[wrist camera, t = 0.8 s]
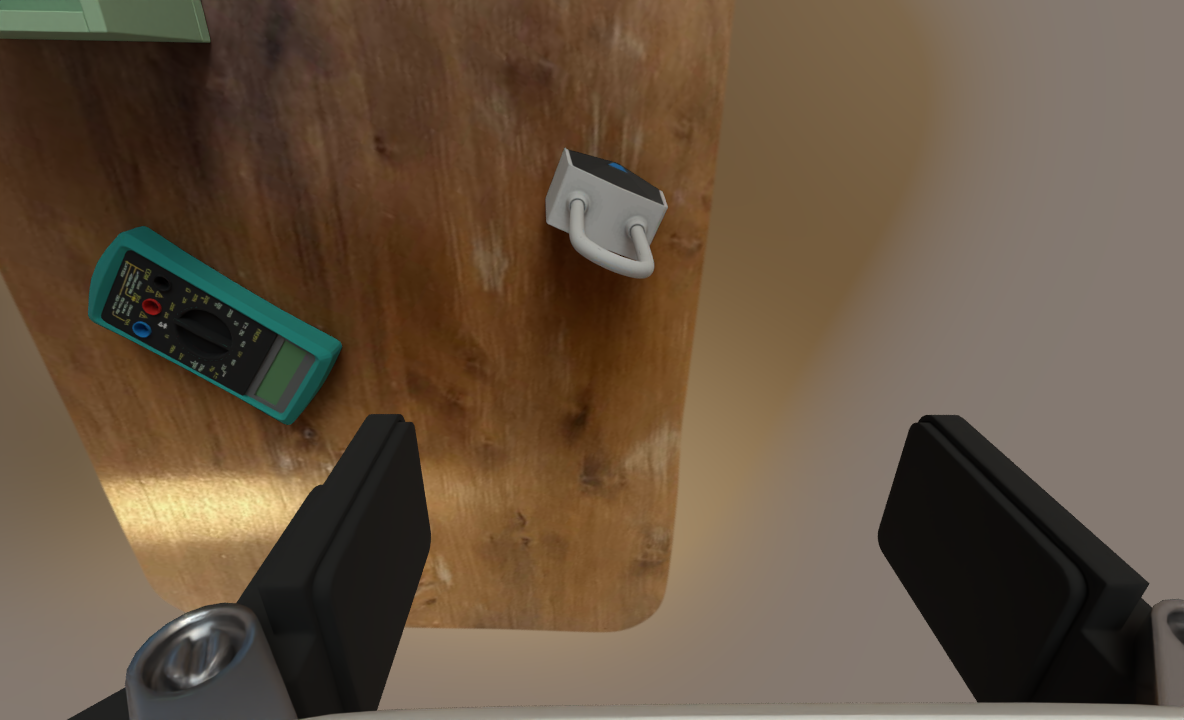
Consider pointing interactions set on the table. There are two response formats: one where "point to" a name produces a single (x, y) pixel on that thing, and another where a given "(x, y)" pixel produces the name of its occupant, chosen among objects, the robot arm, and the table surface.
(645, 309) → the table surface
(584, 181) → the padlock
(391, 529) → the robot arm
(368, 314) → the table surface
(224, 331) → the digital multimeter
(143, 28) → the holder
